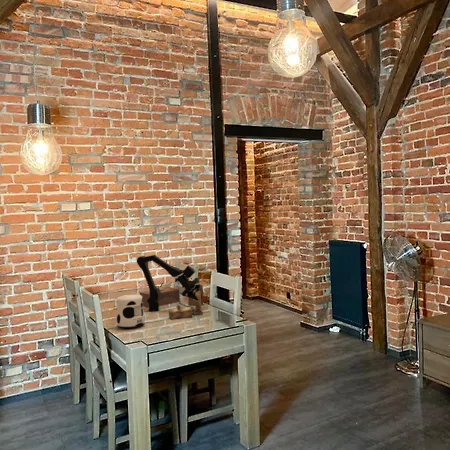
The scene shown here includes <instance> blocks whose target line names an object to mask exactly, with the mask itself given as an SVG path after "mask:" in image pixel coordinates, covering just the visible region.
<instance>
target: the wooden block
mask: <svg viewBox="0 0 450 450" xmlns="http://www.w3.org/2000/svg"><path fill="white" fill-rule="evenodd" d="M200 285H201V287H200V290H199V291H201V296H202V299H201V306H204V287H203V286H204V285H203V284H200ZM187 305H188V307H193V306H194V307H196V300H195V299H192V298H190V297H188V300H187Z"/></svg>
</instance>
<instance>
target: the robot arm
mask: <svg viewBox="0 0 450 450" xmlns="http://www.w3.org/2000/svg"><path fill="white" fill-rule="evenodd" d="M149 262H153V263H155V264H156V265H157V266H159V267H161V268H162V269H164V270H165V271H166V272H167V273H168V274H169V275H170V276H171V277H173V278H174V279H175V280H174V283H178V282H179V284H180V285H181V287H182V289H184V290H183V291H182V292H181V296H182V297H183V298H184V297H190V298H192V299H193V300H198V298H197V297H196V295H195V291H199V290H200V287H201V285H202V284H201V283H200V279H199V278H198V277H195V278H194V279H193V280H191V279H188V278H191V277H192V276H193V275H194V274H195V273H196V270H195V269H194V268H193V267H192V266H190V265H187V266H186V267H185V268H184V269H180V268H178V267H176V266H173V265H171V264H169V263H167V262H166V261H165V260H164V259H161V258H160V257H158V256H157V255H156V254H152V255H147V256H145V255H141V256H139V257H137V258H136V263H137V265H138V267H139V268H140V269H141V271H142V273H143V275H144V279H145V282H146V283H147V286H148V289H149V290H148V291H149V294H150V298H149V299H148V300H147V302H148V304H149V308H148V312H151V313H152V312H159V310H160V306H159V304H158V299H159V298H160V296H161V292H160V287H157V286H156V284H155V281H154V279H153V276H152V273H151V271H150V269H149ZM201 299H202V296H201Z"/></svg>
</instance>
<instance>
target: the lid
mask: <svg viewBox="0 0 450 450" xmlns="http://www.w3.org/2000/svg"><path fill="white" fill-rule="evenodd" d="M192 309H195V306H188V307H187V306H186V307H181V305H180V304H177V305H176V308H168V312H169V311H170V313H173V312H183V311H192V312H193V310H192Z"/></svg>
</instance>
